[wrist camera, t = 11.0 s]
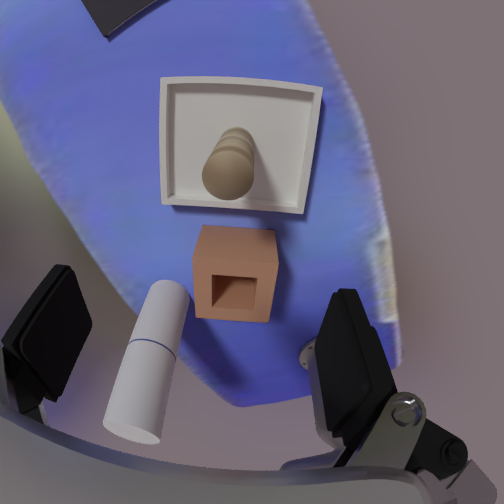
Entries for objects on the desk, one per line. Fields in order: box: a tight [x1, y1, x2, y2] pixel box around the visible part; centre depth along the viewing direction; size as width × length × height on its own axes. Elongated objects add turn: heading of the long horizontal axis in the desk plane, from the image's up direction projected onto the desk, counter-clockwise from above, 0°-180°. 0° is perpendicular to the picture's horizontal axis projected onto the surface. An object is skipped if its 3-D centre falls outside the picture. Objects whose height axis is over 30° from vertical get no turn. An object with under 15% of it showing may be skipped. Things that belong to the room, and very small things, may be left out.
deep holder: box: [192, 225, 279, 323], centre depth 39 cm, size 10×10×8 cm
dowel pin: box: [202, 127, 254, 200], centre depth 27 cm, size 4×4×13 cm
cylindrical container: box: [103, 280, 190, 444], centre depth 36 cm, size 7×7×25 cm
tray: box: [159, 76, 323, 214], centre depth 32 cm, size 16×18×2 cm
